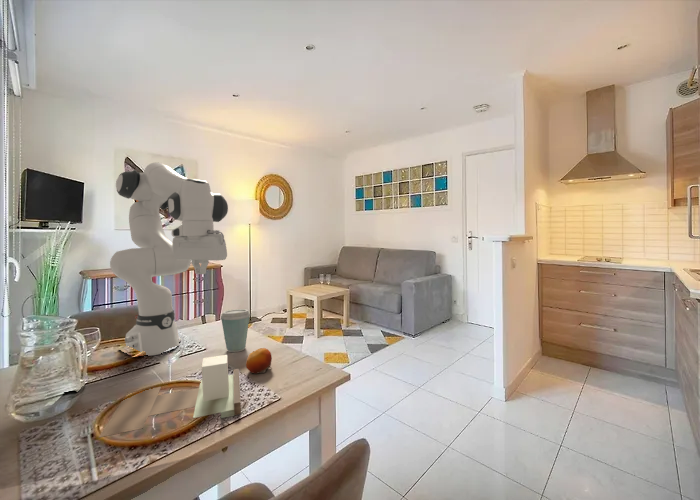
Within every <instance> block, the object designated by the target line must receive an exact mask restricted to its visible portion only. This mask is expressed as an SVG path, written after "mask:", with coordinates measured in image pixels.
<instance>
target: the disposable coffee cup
mask: <svg viewBox="0 0 700 500" xmlns="http://www.w3.org/2000/svg"><path fill="white" fill-rule="evenodd" d="M250 317H251V312H250V310H249V309H246V308H245V309H244V308H240V309H231V310H230V309H228V310H224V311H222V313H221V315H220V319H221V324H222V330H223V335H224V341H225V347H226V348H225V349H226V351H227V352H229V353H239V352H243V351H244V350H246V349H245V348H246V344H247V337H248V331H249V321H250Z"/></svg>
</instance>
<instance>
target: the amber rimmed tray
mask: <svg viewBox="0 0 700 500" xmlns="http://www.w3.org/2000/svg"><path fill="white" fill-rule="evenodd" d="M232 370H233V374H228V379H229V397H225V398H220V399H214V400H209V401H204V402H203V385H202V379H200V382H201V383H200V382H199V387H197V388H192V389H186V390H181V391H174V392H168V393H164V394H163V393H162V394H159V393H160V391H161V388H162V386H158V387H152V388H153V389H151V388H148V389H149V390H145V389H144V390H145V391H143V392H142V393H139V394H136V395H134V396H132V397H131V398H127V399H125V400H123V399H122V400H123V401H122V400H121V402H120V403H119V404H118V406H117V408H116V409H115V411H114V413H113V414H112V416H111V417H110V419H109V421H108V422H107V423H106V425H105V426H104V427H103V430H102V432H101V433H100V435H99V436H98V438H103V437H107V436H113V435H117V434H123V433H128V432H132V431H137V430H141V429H143V428H144V427H145V424H146V422H147V419H148V418H149V417H150V416H155V415H160V414H166V413H170V412H177V411H182V410H187V409H191V408H194V412H193V416H192V418H193V419H195V418H201V417H205V416H210V415H215V414H219V413H220V419H224V418H228V417H233V416H238V415H242V405H241V403H242V402H241V387H240V386H241V384H240V369H239V368H236V369H232ZM135 391H136V390H134V391H128V392H127V393H126V394H125V396H126V395H128V394H130V393H133V392H135ZM143 430H144V429H143Z"/></svg>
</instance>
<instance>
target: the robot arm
mask: <svg viewBox="0 0 700 500" xmlns="http://www.w3.org/2000/svg"><path fill="white" fill-rule="evenodd" d="M115 189H116V192H117V194H118V195H119V196H120V197H123V198H126V199H128V200H129V199H131V200H134V201H136V202H134V203H133V204H132V205H131V206H130V208H129V211H128V224H129V231H130V237H131V240H132V242H133V243H134V244H135V246H137V248H136V247H133V248H126V249H122V250H117V251H116V252H115V253H113V255H112V256H111V258H110V261H109V267H110V270H111V272H112V273H113V274H114V275H115V276H116V277H117V278H119V279H120V280H123V281H124V282H126V283H127V284H128V285H130V287H131V288H132V290H133V291H134V293H135V296H136V302H137V308H138V309H137V310H138V314H137V315H135V318H134V319H136V322H135V324H134V325H133V327H132V328H131V329H130V330H129V331H128V332H126V333H125V338H124V342H125V344H126V346H129V347H132V348H134V349H136V350H138V351H140V352H142V351H145V352H146V355H148V356H149V357H150V356H157V355H162V354H163V353H162V352H164V351H166V350H168V349H169V348H172V347H175V346H178V345H179V344H180V343H181V342H182V338H181V337H180V336H179V331H178V324H177V322H176V321H175V310H174V307H173V293H172V291H171V290H170V288H168V287H167V286H165V285H161V284H158V283H155V282H153V277H162V276H163V277H164V276H173V275H177V274H181V273H185V272H187V271H188V269H189V268H190V266H191V265H192V266H193V268H194V273H195V274H196V275H205V274H206V275H207V269H208V266H209V262H210V261H215V262H217V261H225V260H226V259H227V257H228V251H227V244H226V240H225V235H224V233H223V232H222V231H221V230H219V229H214V222H215V223H219V222H221V221H222V220H223V219H224V218H226V216H227V214H228V212H229V205H228V202H227V200H226V199H225V197H224V196H223V195H222V194H221V193H213V192H212V190H211V186H210V184H209V182H208V181H207V180H204V179H197V178H187V177H185V176H184V175H181V174H179V173H178V172H177V171H175V170H174V169H173V168H172V167H170V166H169V165H166V164H164V163H162V162H151V163H149V164H148V165H146V166H145V168H144V171H143V172H140V171H138V170H135V169H133V170H131V171H123V172H121V173H119V175H118V176H117V179H116V181H115ZM160 209H161V210H162V211H165V210H167V213H168V215H169V216H171V217H172V219H173V220H176V221H181V222H182V223H181V224H180V225H179V226H177V227H176V228H173V229H172V230H171V236H172V237H173V238H172V240H170V239H169V238H168V237H167V235H166V233H165V231H164V228H163V225H162V220H161V216H160ZM180 341H181V342H180ZM179 342H180V343H179ZM179 346H180V345H179ZM161 353H162V354H161Z"/></svg>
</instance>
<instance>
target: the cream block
mask: <svg viewBox="0 0 700 500" xmlns="http://www.w3.org/2000/svg"><path fill="white" fill-rule="evenodd" d="M228 362H229V359H228V354H221V355H217V356H209V357H208V356H207V357H203V358H202V364H201V380H202V385H203V402H204V401H209V400H214V399H220V398H225V397H229V379H228V375H229V365H228Z"/></svg>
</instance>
